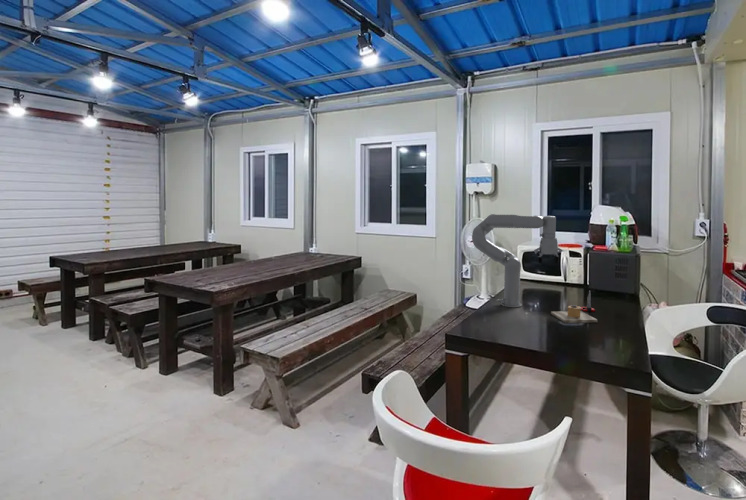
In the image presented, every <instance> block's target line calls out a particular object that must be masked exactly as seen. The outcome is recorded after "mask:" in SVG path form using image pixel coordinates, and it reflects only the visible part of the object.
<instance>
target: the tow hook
mask: <svg viewBox="0 0 746 500" xmlns="http://www.w3.org/2000/svg"><path fill="white" fill-rule="evenodd" d="M591 291H592V290H588V299H587V300H588V302H587V306H580V307H581V310H580V311H582V312H589V313H591V312H593V313H594V312H596V309H595V308H593V307H591V306H592V304H591V303H592V302H591V299H592V298H591V295H592V294H591ZM583 308H585V309H583Z"/></svg>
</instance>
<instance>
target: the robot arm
mask: <svg viewBox="0 0 746 500" xmlns="http://www.w3.org/2000/svg"><path fill="white" fill-rule="evenodd" d="M556 225H557V217H556V216H554V215H545V216H543V215H533V216H529V215H528V216H527V215H518V214H495V213H490V215H488V216H486V217H485V218H484V220H482V221H481V222H480V223H478V225H476V226H475V227H474V228H473V230H472V234H471V239H472V244H473V246H474V248H476V250H479V252H481V253H482V254H484V255H485V256H487V257H489V258H490V259H491V260H493V261H494V262H497V263H499V264H501V265H503V267H504V281H503V282H504V285H503V286H504V289H503V290H504V292H503V297H502V298H500V299H499V298H496V299H495V300H496V303H501V306H503V307H506V308H521V307H523V306H522V305H523V304H522V303H521V302H520V297H521V296H520V295H521V292H520V291H521V272H522V271H521V270H522V269H521V268H522V266H521V265H522V264H521V261H520V259H519V257H518V256H517V255H515V254H513V253H512V252H510V251H509V250H507V249H506V248H504V247H502V246H500V245H496V244H495V243H493V242H491V241H490V240H488V239H487V238H486V235H488V234H489V233H490V232H491V231H492V230H494V229H540V228H542V233H541V234H539V236H540V237H541V239H540V241H539V246H538V247H537V248H535V249H534V251H533V252H534V253H535V255H536V256H537V262H538V264H543V257H542V256H543V255H553V263H554V264H558V260H559V256H560V255H561V254H562V252H563V249H561V248H559V247H558V239H557V238H556V230H557V229H556V228H557V226H556ZM538 251H539V252H538Z"/></svg>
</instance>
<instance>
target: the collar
mask: <svg viewBox="0 0 746 500" xmlns="http://www.w3.org/2000/svg"><path fill="white" fill-rule="evenodd" d="M581 307H582V306H578V305H576V308H572V305H568V306H567V311H568V316H571V317H580V311H582V310H581Z"/></svg>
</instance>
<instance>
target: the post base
mask: <svg viewBox="0 0 746 500" xmlns="http://www.w3.org/2000/svg"><path fill="white" fill-rule="evenodd" d="M571 306H572V308H576V306H577V305H576V304H572V305H571ZM550 315H551V316H553V317H554V318H557V319H558V320H560V321H561V322H563V323H564V324H579V323H583V324H584V323H586V324H587V323H598V319H597V318H595V317H593V316H591V315H589V314H588V313H585V311H583V310H580V317H571V316H568V310H567V311H566V310H565V311H564V310H563V311H550Z"/></svg>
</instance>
